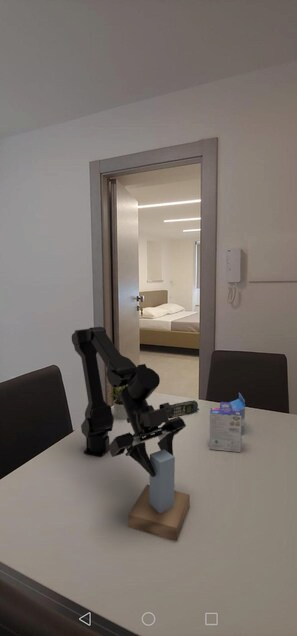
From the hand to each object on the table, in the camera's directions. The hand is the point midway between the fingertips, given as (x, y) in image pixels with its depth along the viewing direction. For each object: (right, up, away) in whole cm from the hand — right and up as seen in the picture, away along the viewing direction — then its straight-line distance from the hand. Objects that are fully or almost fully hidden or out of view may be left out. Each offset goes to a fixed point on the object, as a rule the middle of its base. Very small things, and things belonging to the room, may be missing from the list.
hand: (163, 472), depth 71 cm
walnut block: (-1, -12, +3) cm, 12 cm away
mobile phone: (+11, -5, +58) cm, 59 cm away
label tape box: (+28, -6, +45) cm, 53 cm away
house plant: (-12, -5, +56) cm, 57 cm away
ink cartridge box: (+21, -8, +32) cm, 40 cm away
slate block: (0, -8, +2) cm, 9 cm away
